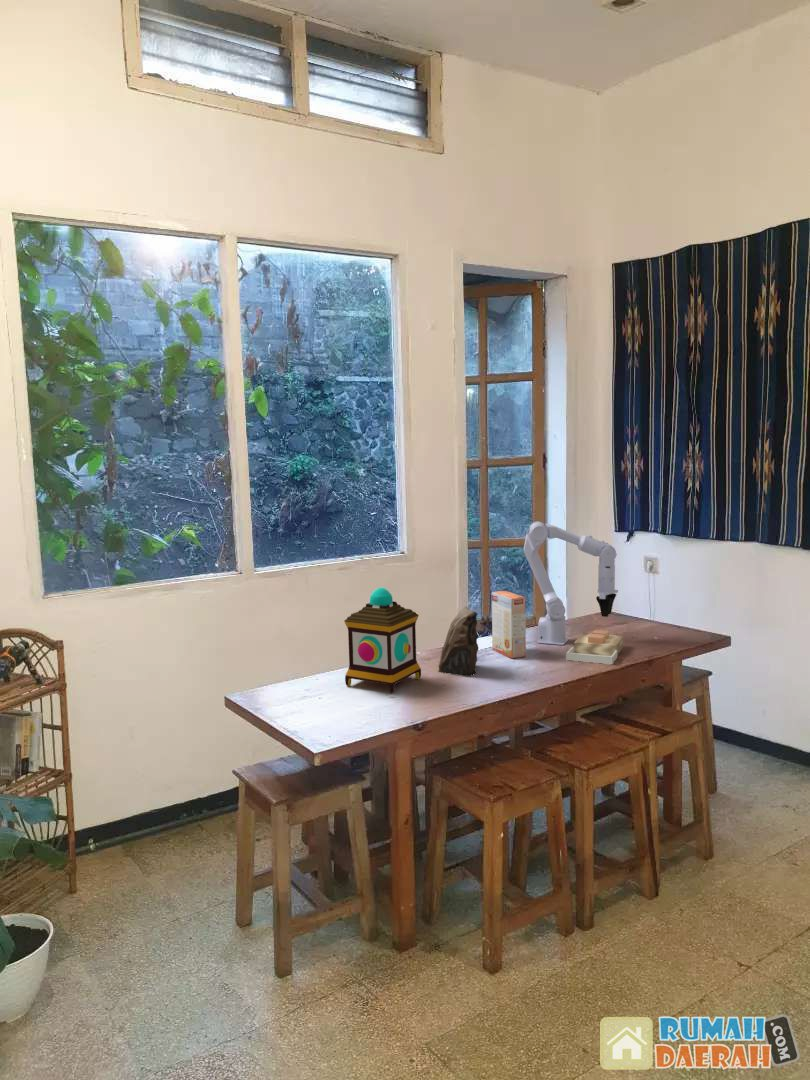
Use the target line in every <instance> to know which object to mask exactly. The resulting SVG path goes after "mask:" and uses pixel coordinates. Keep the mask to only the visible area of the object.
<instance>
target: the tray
mask: <svg viewBox="0 0 810 1080" xmlns="http://www.w3.org/2000/svg"><path fill="white" fill-rule="evenodd" d="M617 659H618V655H617V651H616V650H615V652H614V653H613V654H612V656H604V655H593V654H582V653H574V646H571V647H570V648H569V649H568V651H566V653H565V661H568V660H573V661H572V662H578V661H581V663H589V662H593V664H599V663H603V664H602V665H610V664H612V665H614V664H615V662H614V661H616V660H617ZM582 661H583V662H582Z"/></svg>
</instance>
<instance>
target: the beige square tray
mask: <svg viewBox="0 0 810 1080" xmlns="http://www.w3.org/2000/svg"><path fill="white" fill-rule="evenodd" d="M590 634H592V632H583V633H582V634H581V635H580V636H579V637H578V638H577V639H576V640H575V641H574V642H573V647H574V653H582V654H593V655H604V656H612V654H613V653H614V652H615V650H616V651H617V656H618V655H619V654H620V652H621V651H622V650H623V649H624V635H615V634H609V637H608V638H607V640H606V641H605V642H604V643H603V644H597V643H588V637H589V635H590ZM621 649H622V650H621ZM618 653H619V654H618Z"/></svg>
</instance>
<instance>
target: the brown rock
mask: <svg viewBox="0 0 810 1080" xmlns="http://www.w3.org/2000/svg"><path fill="white" fill-rule="evenodd" d="M478 615H479V614H478V613H477V612H476V611H474V610H472V609H470V608H469V607H468V606H465V605H464V607H463V608H462V609H461V610H460V611H459V612H458V613H457V614H456V615H455V617H454V618H453V620H452V621H451V623H450V626H449V628H448V630H447V631H448V632H447V634H446V638H445V641H444V644H443V646H442V648H441V653H440V657H439V659H440V660H439V662H438V671H437V672H438V673H442V672H443V674H448V673H451V674H450V675H454V674H457V675H456V676H461V675H462V676H461V677H472V676H474V675H476V674H477V673H476V671H475V670H476V667H477V666H476V665H477V662H478V652H479V645H478V641H477V640H478V635H477V625H478V619H477V617H478ZM475 673H476V674H475ZM473 674H474V675H473ZM471 675H472V676H471Z"/></svg>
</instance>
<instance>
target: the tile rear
mask: <svg viewBox="0 0 810 1080" xmlns="http://www.w3.org/2000/svg"><path fill="white" fill-rule="evenodd" d="M591 633H592V634H603V635H606V640H607V638H608V637H609V635H610V630H606V629H594V630H593V631H592V632H591Z"/></svg>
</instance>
